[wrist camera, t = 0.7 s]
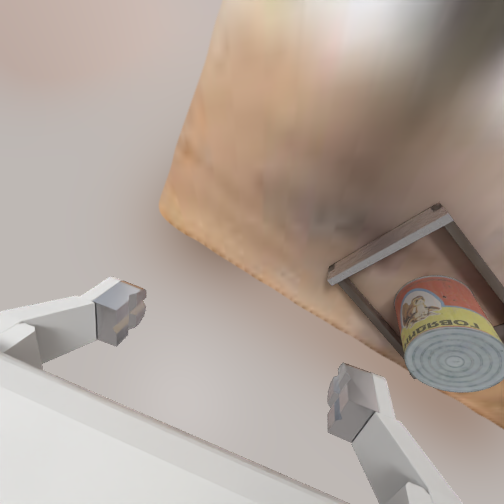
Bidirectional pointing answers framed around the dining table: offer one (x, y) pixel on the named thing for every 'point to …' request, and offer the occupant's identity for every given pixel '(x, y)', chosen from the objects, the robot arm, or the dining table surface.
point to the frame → (396, 241)
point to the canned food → (447, 336)
